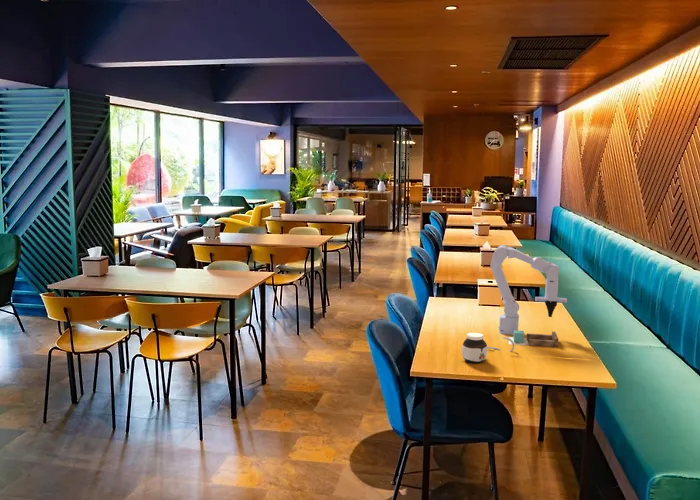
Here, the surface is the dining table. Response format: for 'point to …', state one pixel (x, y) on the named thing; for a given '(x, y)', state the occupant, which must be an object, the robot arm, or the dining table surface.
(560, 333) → the dining table surface
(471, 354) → the spread jar
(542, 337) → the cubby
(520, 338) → the teal block
